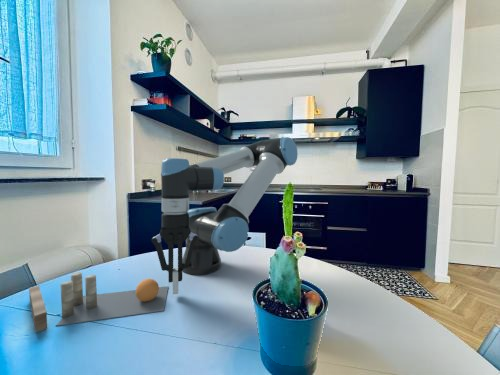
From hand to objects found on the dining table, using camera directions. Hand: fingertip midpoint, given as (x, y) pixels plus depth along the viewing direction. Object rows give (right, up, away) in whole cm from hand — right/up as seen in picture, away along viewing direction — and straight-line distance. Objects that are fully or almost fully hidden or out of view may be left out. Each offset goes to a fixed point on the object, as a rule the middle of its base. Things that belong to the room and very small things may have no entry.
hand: (175, 291), depth 66 cm
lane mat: (-14, -2, -3) cm, 15 cm away
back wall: (-33, -2, -8) cm, 34 cm away
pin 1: (-25, -2, -9) cm, 26 cm away
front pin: (-21, -2, -5) cm, 22 cm away
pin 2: (-26, -2, -4) cm, 26 cm away
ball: (-7, +1, -2) cm, 8 cm away
